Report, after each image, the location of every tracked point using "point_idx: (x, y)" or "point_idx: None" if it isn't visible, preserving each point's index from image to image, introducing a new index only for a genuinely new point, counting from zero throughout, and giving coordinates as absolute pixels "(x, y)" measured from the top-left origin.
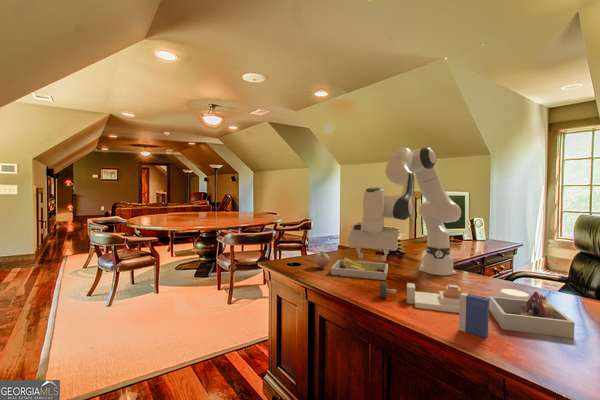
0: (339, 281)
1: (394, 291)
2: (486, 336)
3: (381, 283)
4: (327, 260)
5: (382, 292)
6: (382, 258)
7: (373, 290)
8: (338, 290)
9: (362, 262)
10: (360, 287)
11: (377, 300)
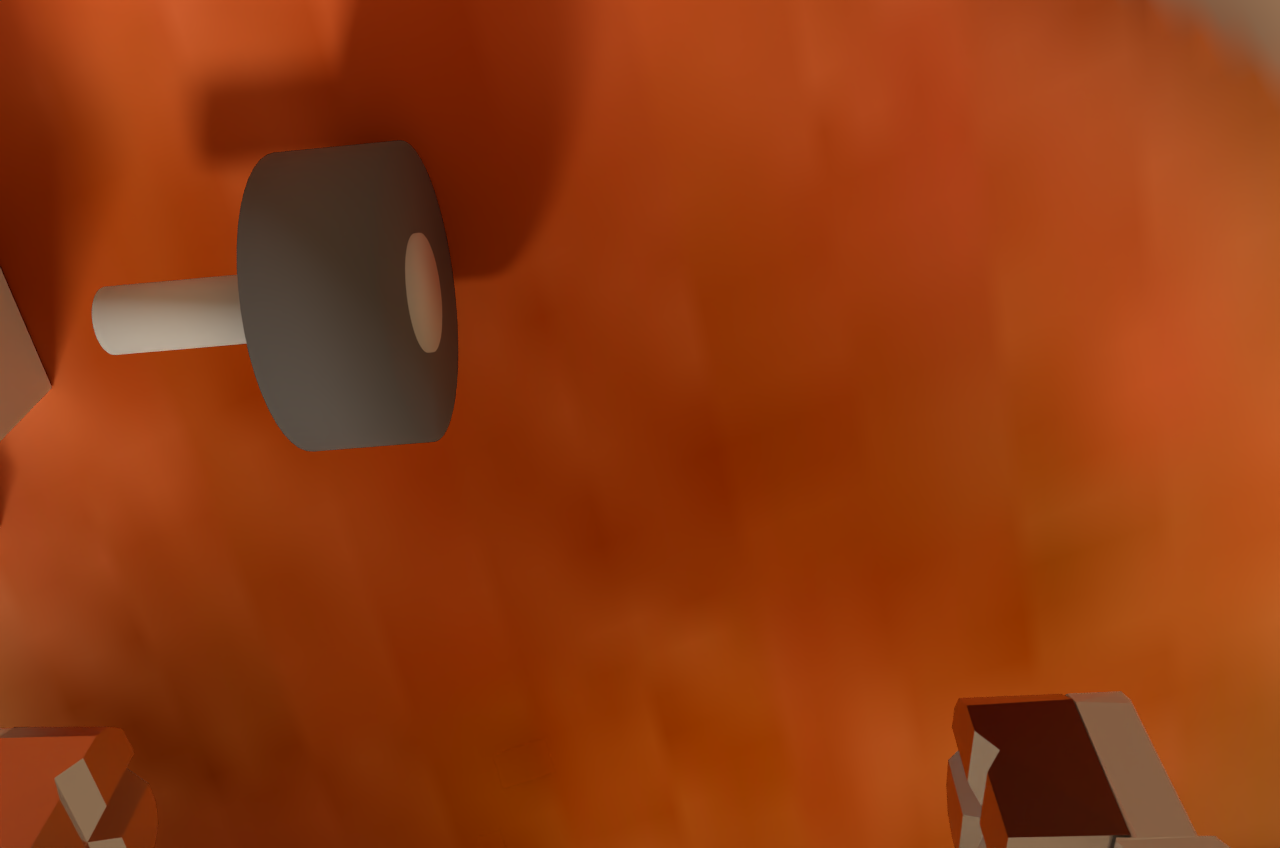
0: (1254, 698)
1: (137, 290)
2: None
3: (361, 330)
4: None
5: (337, 152)
6: (31, 778)
7: (643, 517)
8: (1259, 276)
9: None
10: (875, 568)
11: (449, 46)
